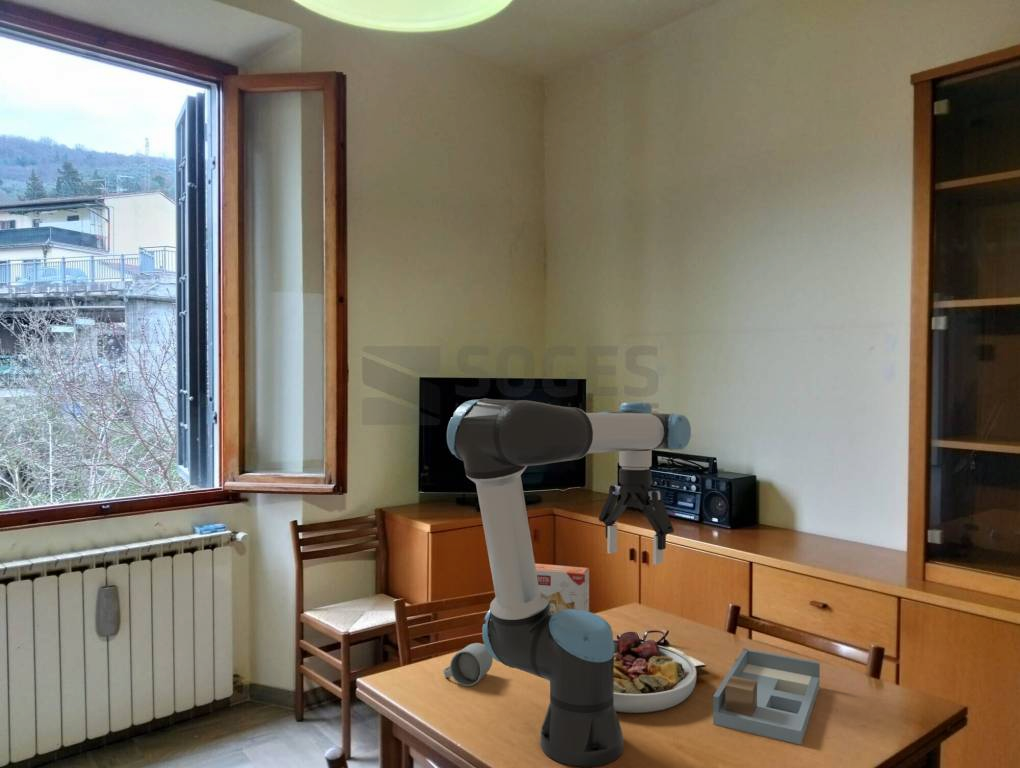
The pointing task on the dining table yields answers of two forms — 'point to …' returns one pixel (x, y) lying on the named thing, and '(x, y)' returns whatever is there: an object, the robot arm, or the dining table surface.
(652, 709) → the bowl
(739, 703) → the block
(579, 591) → the cracker box
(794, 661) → the box
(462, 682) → the ceramic mug
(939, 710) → the dining table surface
